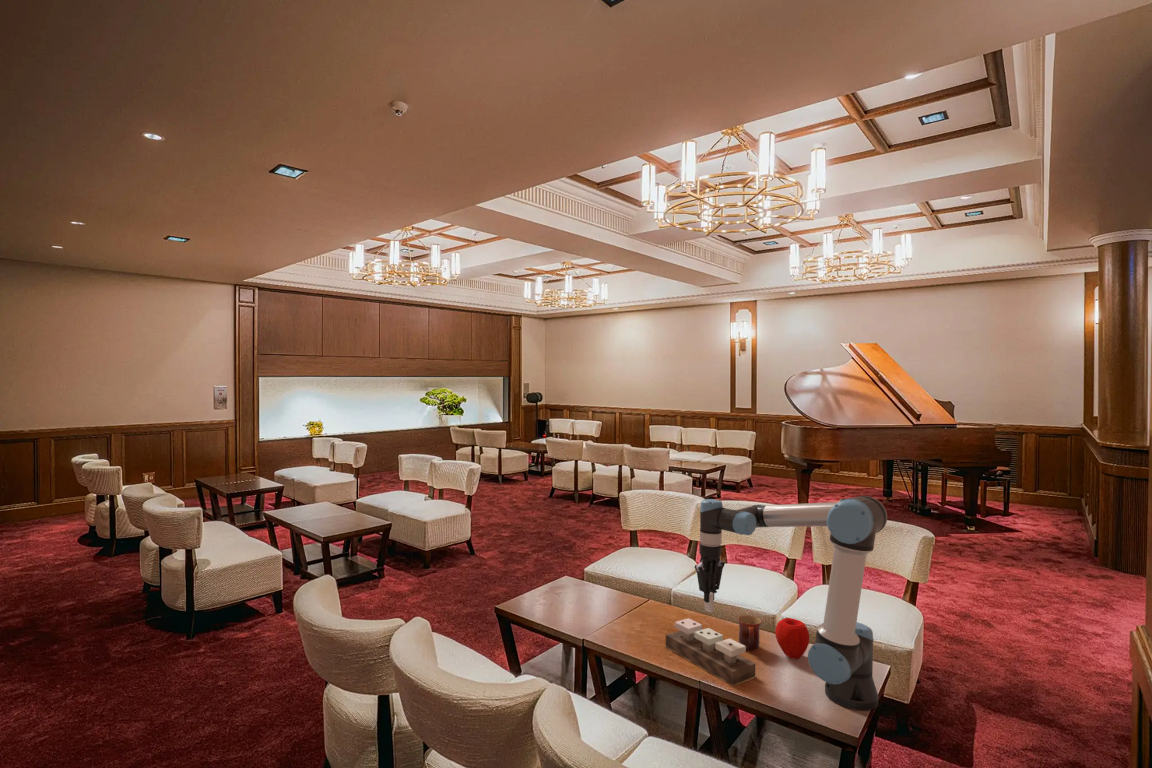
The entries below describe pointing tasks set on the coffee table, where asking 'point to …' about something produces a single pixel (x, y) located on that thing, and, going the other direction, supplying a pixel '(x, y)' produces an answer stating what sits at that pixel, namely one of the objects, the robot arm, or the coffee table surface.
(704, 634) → the three-pip tile
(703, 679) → the coffee table surface
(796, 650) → the apple
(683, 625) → the tile
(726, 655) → the tile
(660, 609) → the coffee table surface
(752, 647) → the mug
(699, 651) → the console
